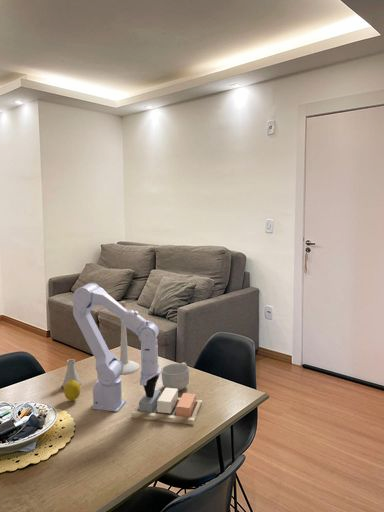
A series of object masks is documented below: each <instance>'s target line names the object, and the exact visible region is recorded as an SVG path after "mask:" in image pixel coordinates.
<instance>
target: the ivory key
mask: <svg viewBox="0 0 384 512" xmlns="http://www.w3.org/2000/svg"><path fill="white" fill-rule="evenodd" d="M178 398H179V391H178V389H175V388H166V387H164V389H163V391H162V393H160V397H159V399H158V400H157V412H158V413H161V414H172V413H173V412H172V411H173V410H174V408H175V407H176V404H177V403H176V402H177V400H178Z"/></svg>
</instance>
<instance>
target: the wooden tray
mask: <svg viewBox="0 0 384 512" xmlns="http://www.w3.org/2000/svg"><path fill="white" fill-rule="evenodd" d="M180 399H181V397H178V400H177V402H176V404H178V402H179V400H180ZM202 405H203V400H202V399H196V406H195V408H194V410H193V413H192V415H191V417H182V416H176V408H175V409H174V411H173V412H172V413H171V414H166V413H159V412H157V408H156V409H155V411H154V412H153V413H148V412H139V403H138V404H136V406H135V408H134V409H133V411H132V412H131V418H135V419H143V420H149V421H151V420H152V421H159V422H160V421H161V422H168V423H177V424H186V425H192V426H193V425H195V423H196V420H197V417H198V416H199V413H200V410H201V408H202Z"/></svg>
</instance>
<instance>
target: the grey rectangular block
mask: <svg viewBox="0 0 384 512" xmlns="http://www.w3.org/2000/svg"><path fill="white" fill-rule="evenodd" d="M160 396H161V390H160V389H159V390H157V389H155V391H154V395H153V397H147V396H146V393H144V395H143V396H142V397H141V399H140V400H139V401H138V404H139V412H148V413H154V411H155V409H156V408H157V400H158V399H159V397H160Z"/></svg>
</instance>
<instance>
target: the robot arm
mask: <svg viewBox="0 0 384 512" xmlns="http://www.w3.org/2000/svg"><path fill="white" fill-rule="evenodd" d="M71 301H72V315H73V318H74V320H75V321H76V324H77V325H78V327H79V329H80V331H81V333H82V335H83V337H84V339H85V341H86V344H87V345H88V347H89V349H90V351H91V354H92V355H93V357H94V359H95V366H94V367H95V370H96V373H97V379H96V380H95V382H94V384H93V388H92V400H93V401H92V405H93V406H92V409H93V410H99V411H109V412H116V413H117V412H119V411H120V409H121V408H122V407H123V405H124V404H125V403H126V401H127V400H126V399H123V397H122V396H123V395H122V393H123V392H122V391H123V390H122V377H121V374H120V373H121V372H122V371H123V364H122V362H121V361H120V359H119V358H118V357H117V356H116V354H115V353H114V352H111V350H110V349H109V348H108V345H107V344H106V341H105V340H104V338H103V336H102V334H101V333H102V332H101V331H100V329H99V327H98V325H97V323H96V322H95V319H94V317H93V316H92V314H91V312H92V311H91V310H92V309H93V306H95V307H96V306H102V307H104V308H105V309H106V310H108V311H110V313H112V314H114V315H115V316H117V317H118V318H119V317H120V318H121V321H122V323H121V325H122V324H123V325H125V326H126V329H127V328H128V329H129V330H131V332H133V333H134V334H135V335H137V336H138V340H139V341H140V365H141V366H140V367H141V369H140V378H139V385H140V386H143V388H144V392H145V393H146V396H147V397H153V395H154V391H155V390H156V386H157V382H158V380H159V377H160V375H162V372H161V370H159V368H160V366H159V365H160V363H159V360H158V359H159V355H158V354H159V352H158V351H159V349H158V348H159V346H158V338H157V337H158V335H159V334H160V328H159V326H158V325H157V324H156V323H155V322H153V321H150V320H148V319H147V320H146V318H144V317H143V316H142V315H140V314H139V311H137V310H133V309H129V310H128V309H127V308H126V309H125V308H124V307H123V306H122V305H121V303H119V301H117V300H116V299H114V298H113V296H111V295H110V294H108V293H107V291H106V290H105V289H104V288H102V287H101V286H99V285H98V284H97V283H95V282H89V283H87V284H85V285H83V286H81V287H77V288H76V289H75V290H74V292H73V293H72V296H71ZM120 318H119V319H120ZM121 321H120V322H121ZM145 393H144V394H145Z"/></svg>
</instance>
